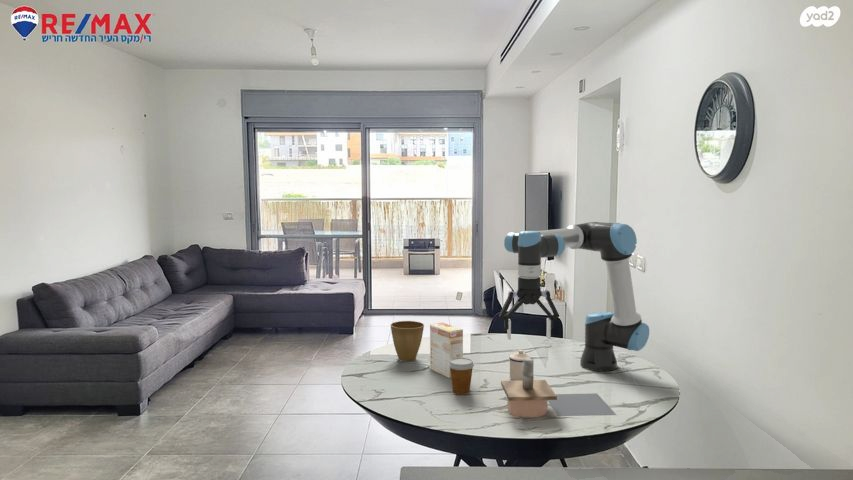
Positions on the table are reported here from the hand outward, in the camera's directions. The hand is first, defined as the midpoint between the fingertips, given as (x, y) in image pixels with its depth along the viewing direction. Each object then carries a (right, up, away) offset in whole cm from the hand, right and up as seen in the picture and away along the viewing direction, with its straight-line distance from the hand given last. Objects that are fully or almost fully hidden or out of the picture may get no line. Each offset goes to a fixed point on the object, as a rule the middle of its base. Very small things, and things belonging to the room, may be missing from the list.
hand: (528, 338), depth 200 cm
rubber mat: (+19, -25, +7) cm, 32 cm away
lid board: (0, -19, +2) cm, 19 cm away
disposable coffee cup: (-22, -24, +22) cm, 39 cm away
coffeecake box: (-27, -22, +44) cm, 56 cm away
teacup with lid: (+3, -22, +37) cm, 44 cm away
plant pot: (-43, -20, +62) cm, 79 cm away
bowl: (0, -26, +2) cm, 26 cm away
